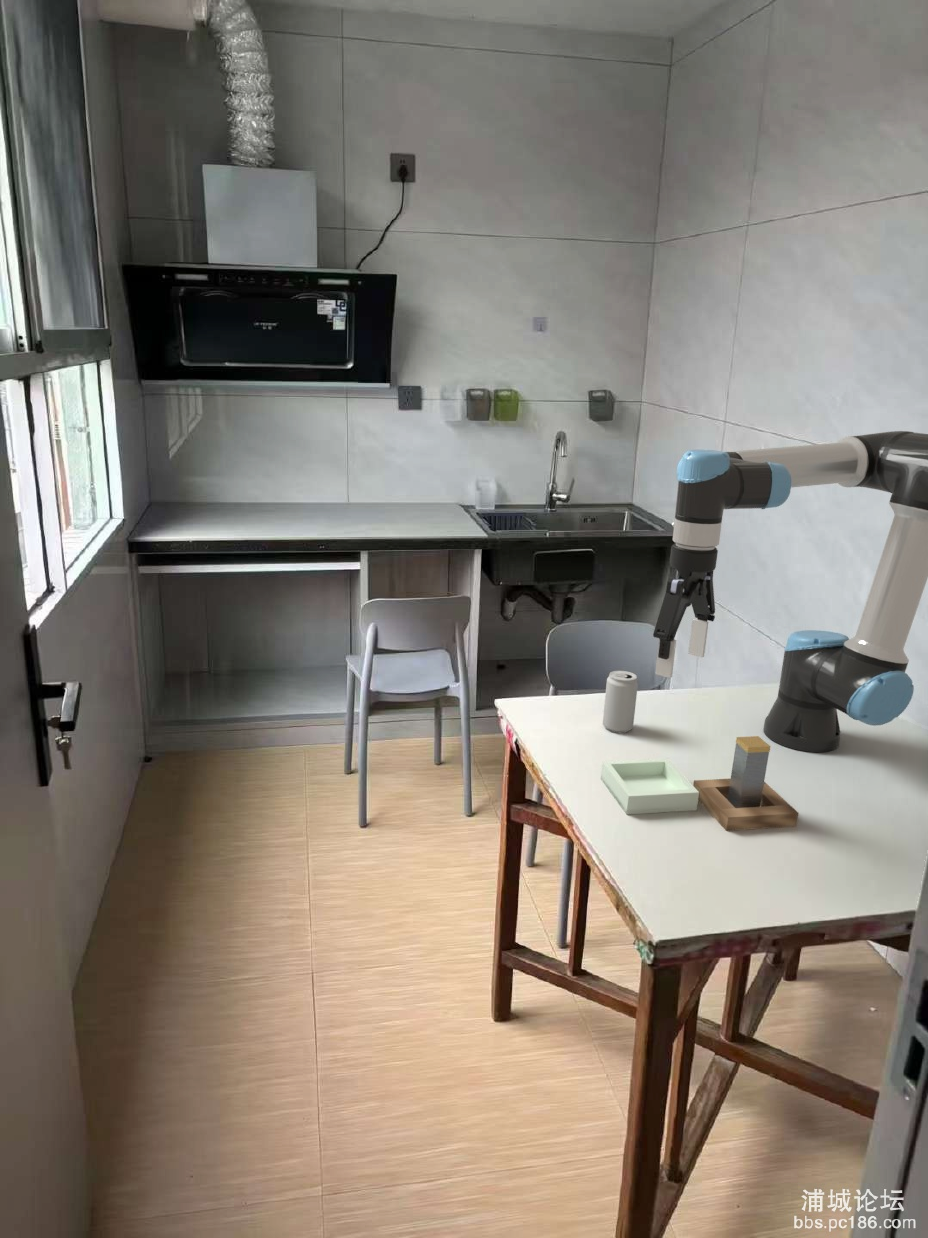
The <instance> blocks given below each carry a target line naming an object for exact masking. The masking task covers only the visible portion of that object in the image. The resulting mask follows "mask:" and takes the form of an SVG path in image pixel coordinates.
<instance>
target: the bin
mask: <svg viewBox="0 0 928 1238" xmlns="http://www.w3.org/2000/svg"><path fill="white" fill-rule="evenodd" d="M600 780H601V782H602V783H603V784H604V786H605V787H606V788H607V790H608V791H609V792H610V794H611V795H612V797H613V798H614V799H615V801H616V802H617V804H618V805H619V806H620V808H621V809H622V810H623V812H624V814H626V815H639V814H641V815H642V814H655V813H656V814H657V813H673V812H689V811H697V810H698V809H697V808H698V802H699V800H698V797H699V792H698V791H697V789H696V788H695V787H694V786H693V783H692V782H690V781H689V779H688V778H687V777H686V776H685V775H684V774H683V773H682V772H681V770H680V769H678V767H677V766H676V765H675V764H674V763H673V762H672V761H671V760H670V759H669V758H652V759H649V758H648V759H633V760H632V759H631V760H630V759H629V760H627V759H626V760H611V761H609V760H608V761H602V762H601V772H600Z"/></svg>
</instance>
